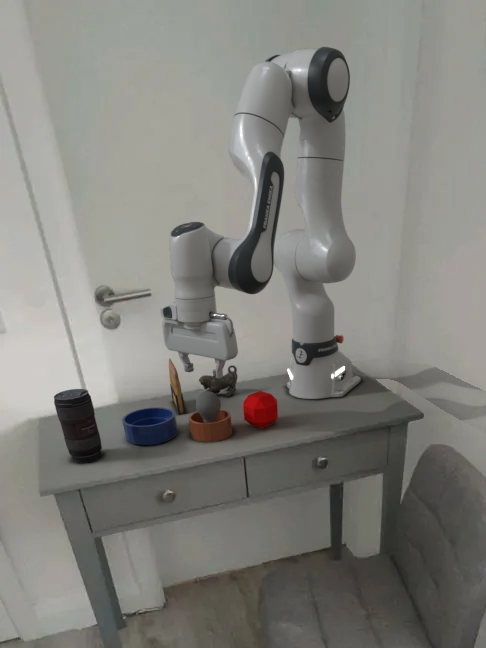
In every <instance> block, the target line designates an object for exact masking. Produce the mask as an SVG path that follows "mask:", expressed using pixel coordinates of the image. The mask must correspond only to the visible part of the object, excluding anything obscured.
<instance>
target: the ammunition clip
mask: <svg viewBox="0 0 486 648" xmlns="http://www.w3.org/2000/svg"><path fill="white" fill-rule="evenodd" d="M168 369H169V370H168V372H169V373H168V375H169V376H168V377H169V382H170V383H169V385H170V392H171V393H170V394H171V399H172V400H171V401H172V403H173V406H174V408H175V410H176V412H177V414H178V415H182V414H186V408H185V401H184V395H183V392H182V387H181V382H180V378H179V374H178V369H177V368H176V366H175V364H174V362H173V360H172V359H171V358H170V357H169V358H168Z"/></svg>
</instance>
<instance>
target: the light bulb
mask: <svg viewBox="0 0 486 648" xmlns="http://www.w3.org/2000/svg"><path fill="white" fill-rule="evenodd" d="M205 391H206V392H205ZM205 391H203V392H201V393H200V394H199V395H198V396H197V398H196V400H195V408H196V412H197V411H198V412H199V414H200V415H201V416H202V418H203V421H204V423H212V422H216V421H217V415H218V413H219V410H220V409H221V407H222V405H221V399H220V397H219V396H218V395H217V394H215V393H213V392H209V391H207V390H205Z"/></svg>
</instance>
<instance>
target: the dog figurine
mask: <svg viewBox="0 0 486 648" xmlns="http://www.w3.org/2000/svg"><path fill="white" fill-rule="evenodd" d="M231 368H233V371H232V370H231ZM198 382H199V384H200V385H201V386H203V389H204V390H205V391H204V392H206V391H209V392H213V393H215V394H216V395H217V394H220V393H221V391H222V390H226V391H228V392H226V394H225V396H226V397H230V396H232V395H233V394H235V392H237V386H236V384H237V382H238V369H237V366H235V365H229V366H228V367H227V373H225V374H223V377H222V378H219V379H218V378H214V377H213V375H207V374H206V375H201V377H200V378H199V379H198Z"/></svg>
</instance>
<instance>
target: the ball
mask: <svg viewBox="0 0 486 648" xmlns="http://www.w3.org/2000/svg"><path fill="white" fill-rule="evenodd" d="M242 403H243V404H242V410H243V421H245V422H246V423H248V424H249V425H250V426H252V427H255V428H258V429H261V430H262V429H264V428H266V427H269V426H272V425H273V424H274V422H276V420H277V419H278V418H279V410H278V399H277V398H276V397H275V396H274V395H272V394H271V392H270V393H269V392H267V391H262V390H258V391H256V392H252V393H249V394H247V396H246V397H245V398H244V400H243V402H242Z"/></svg>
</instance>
